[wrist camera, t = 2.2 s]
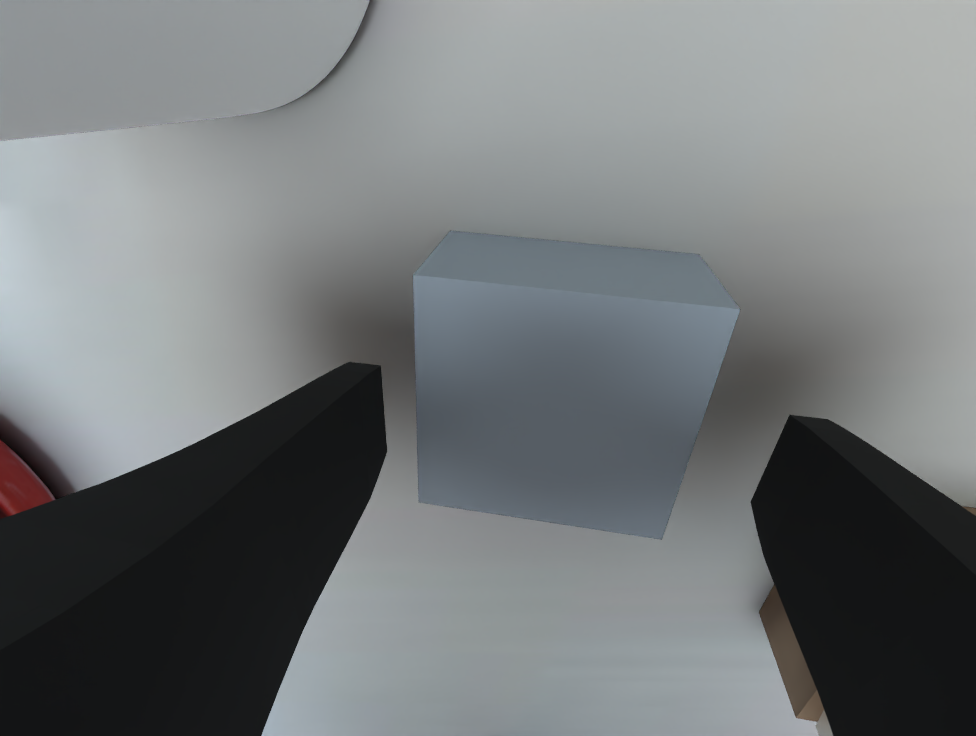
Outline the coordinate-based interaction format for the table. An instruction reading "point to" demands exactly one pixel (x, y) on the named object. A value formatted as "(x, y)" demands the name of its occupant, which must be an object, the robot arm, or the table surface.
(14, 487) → the plant pot
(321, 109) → the table surface
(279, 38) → the can
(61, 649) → the robot arm
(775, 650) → the walnut block
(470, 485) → the slate block
